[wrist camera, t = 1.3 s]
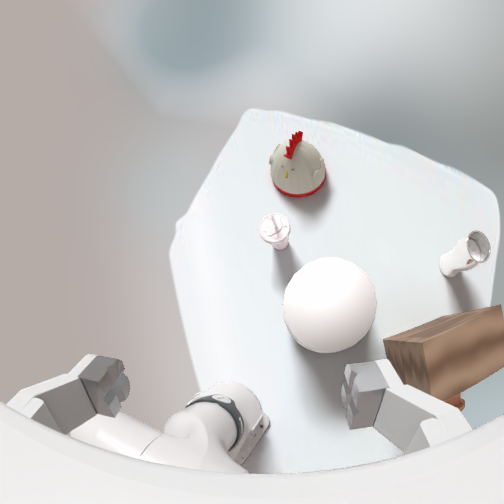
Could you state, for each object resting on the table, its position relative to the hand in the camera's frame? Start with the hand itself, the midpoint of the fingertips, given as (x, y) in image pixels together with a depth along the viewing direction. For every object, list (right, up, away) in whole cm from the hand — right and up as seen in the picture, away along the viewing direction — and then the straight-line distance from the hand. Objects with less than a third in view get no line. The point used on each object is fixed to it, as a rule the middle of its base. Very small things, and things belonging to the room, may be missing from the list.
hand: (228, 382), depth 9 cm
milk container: (+17, -9, +50) cm, 53 cm away
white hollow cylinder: (+48, +1, +45) cm, 66 cm away
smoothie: (+7, +7, +56) cm, 57 cm away
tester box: (+38, -17, +42) cm, 59 cm away
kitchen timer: (+13, +24, +60) cm, 66 cm away
